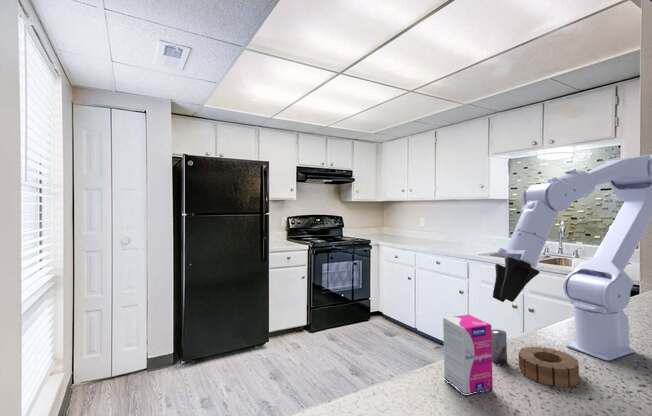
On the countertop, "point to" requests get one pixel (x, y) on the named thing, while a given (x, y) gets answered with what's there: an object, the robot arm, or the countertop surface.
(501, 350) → the metal peg
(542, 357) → the walnut bead
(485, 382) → the supplement box
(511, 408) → the countertop surface
